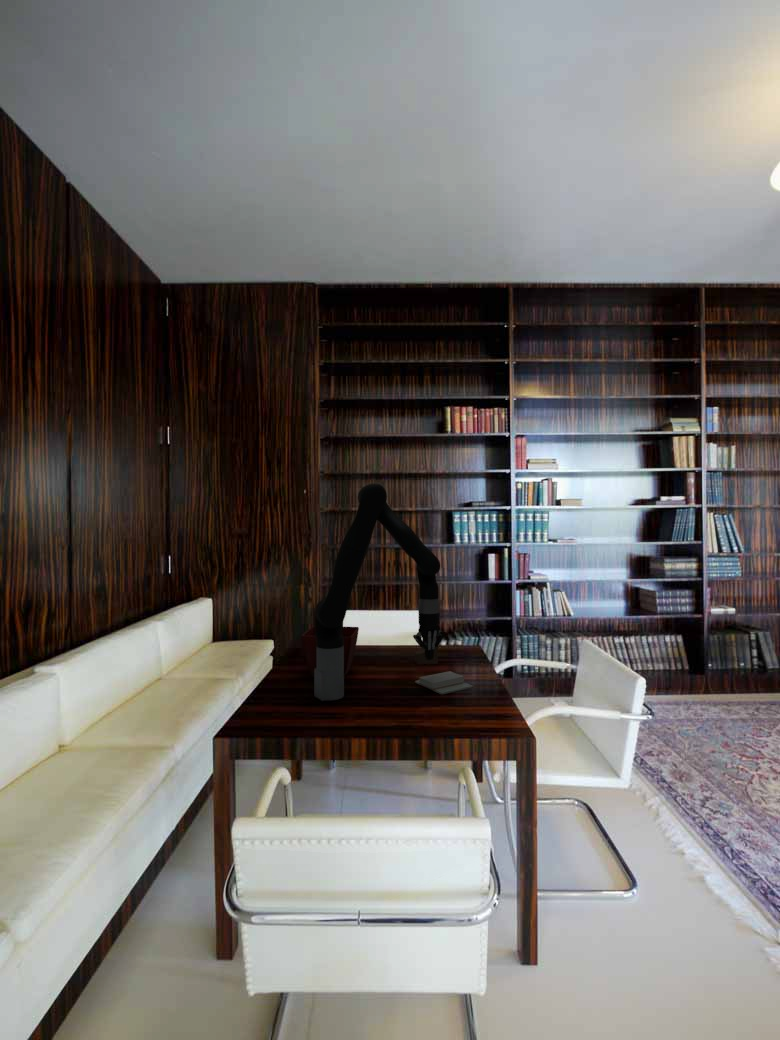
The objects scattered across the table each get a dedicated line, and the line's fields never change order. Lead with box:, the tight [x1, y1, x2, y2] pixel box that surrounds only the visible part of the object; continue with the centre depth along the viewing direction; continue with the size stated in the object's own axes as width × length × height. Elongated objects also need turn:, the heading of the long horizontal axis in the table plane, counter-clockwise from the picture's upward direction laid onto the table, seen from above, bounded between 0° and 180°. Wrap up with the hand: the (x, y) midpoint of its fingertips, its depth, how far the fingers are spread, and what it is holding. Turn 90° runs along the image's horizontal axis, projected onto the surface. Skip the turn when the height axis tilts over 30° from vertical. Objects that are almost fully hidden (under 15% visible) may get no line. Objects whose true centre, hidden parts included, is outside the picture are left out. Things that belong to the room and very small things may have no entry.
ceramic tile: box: [418, 670, 465, 691], centre depth 193 cm, size 2×8×14 cm
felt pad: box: [414, 679, 474, 696], centre depth 193 cm, size 14×16×1 cm
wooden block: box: [414, 646, 439, 666], centre depth 223 cm, size 9×4×18 cm, turn 92°
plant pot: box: [301, 625, 360, 679], centre depth 208 cm, size 19×19×17 cm
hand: (429, 659), depth 190 cm, fingers closed
